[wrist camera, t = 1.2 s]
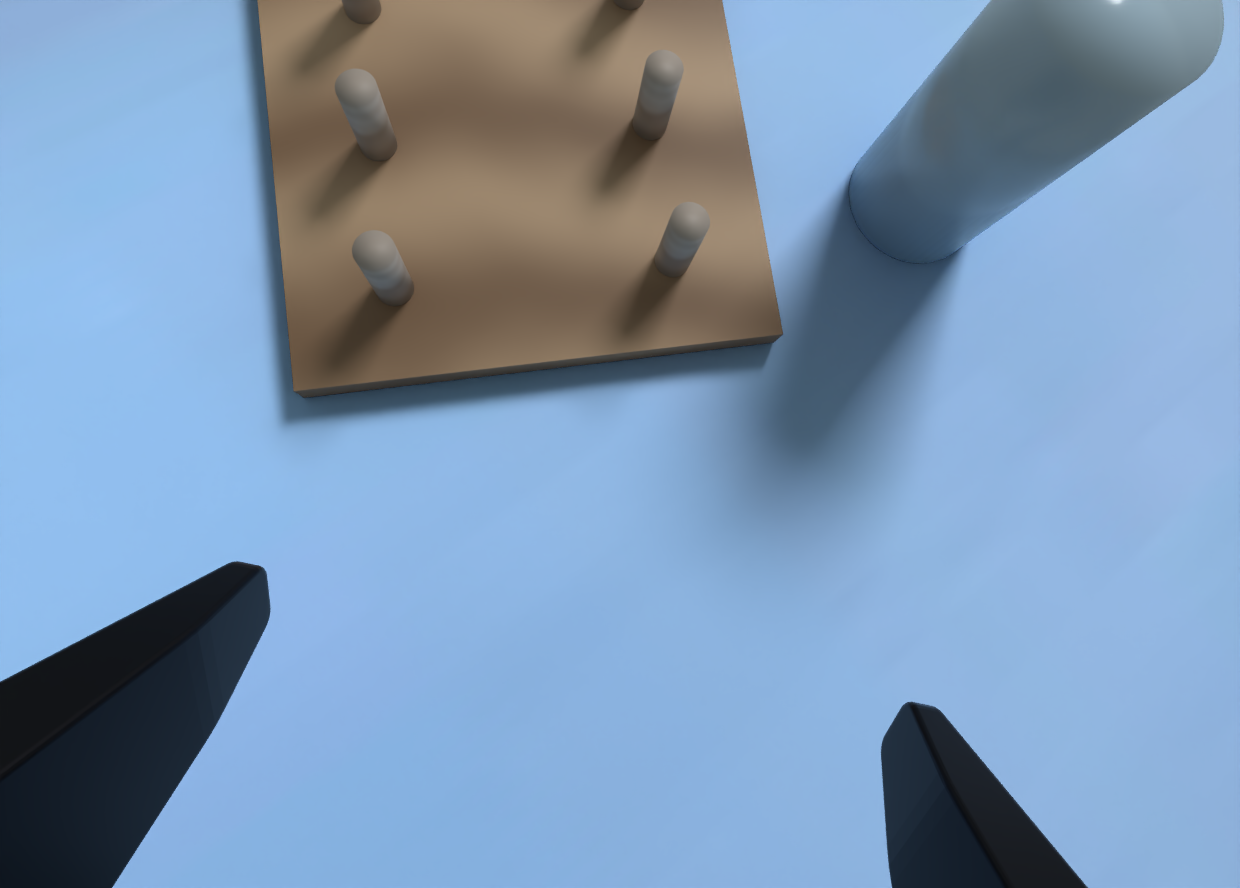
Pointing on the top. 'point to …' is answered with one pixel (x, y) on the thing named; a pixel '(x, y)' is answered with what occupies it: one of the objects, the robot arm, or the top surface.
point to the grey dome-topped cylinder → (1022, 112)
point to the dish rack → (508, 187)
